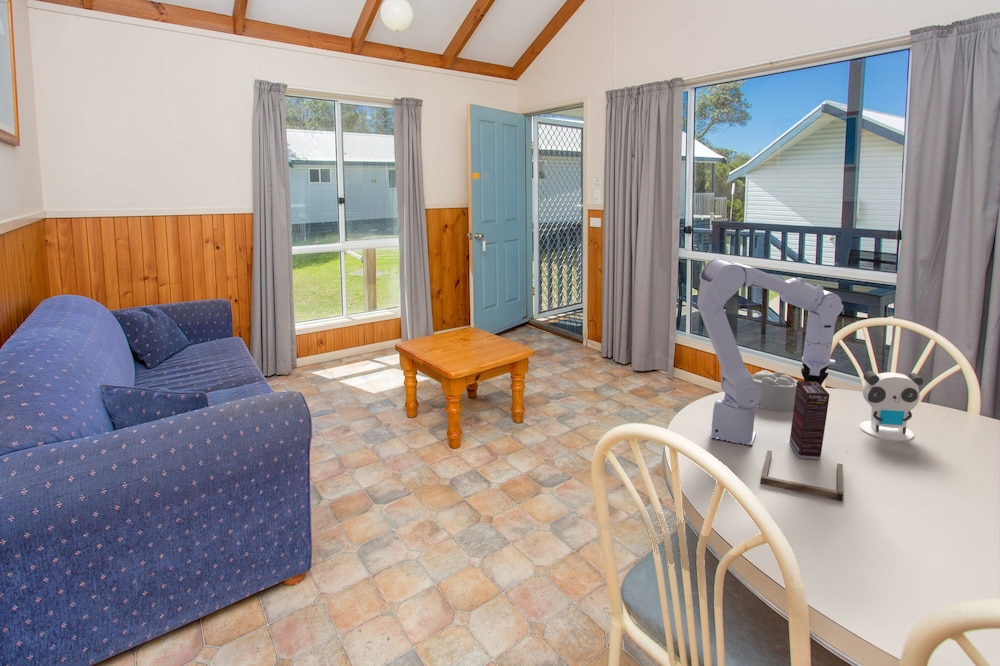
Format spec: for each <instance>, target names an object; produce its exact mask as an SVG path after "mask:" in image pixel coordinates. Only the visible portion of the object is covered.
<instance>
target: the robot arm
mask: <svg viewBox="0 0 1000 666" xmlns="http://www.w3.org/2000/svg"><path fill="white" fill-rule="evenodd" d="M751 285H754V286H756V287H757V286H758V287H760V288H763V289H766V290H769V291H772V292H775V293H777V294H778V295H779V297H780V300H781V301H782V302H784V303H787V304H788V305H789V304H790V305H792V306H795V307H797V308H800V309H802V310H805V311H808V314H807V322H806V329H805V331H806V332H805V337H804V338H805V339H804V345H803V346H804V347H803V353H802V354H803V355H802V357H801V362H802V366H803V367H802V368H800V373H801V375H802V377H803V381H814V382H818V383H819V384H820V385H821V386H823V383H824V382H825V381H826V379H827V377H828V376H829V372H826V371H827V370H828V369H829V367H830V365H831V366H832V365H836V360H835V359H831V355H832V347H833V339H834V334H835V325H836V323H837V319H838V317H839V315H840V314H841V312H843V310H844V305H843V304H842V303H843V302H842V298H840V296H839V295H838V294H837V293H834V292H831V291H828V290H825V289H824V286H821V285H819V284H818V285H816V286H815V285H813V284H811V283H807V282H806V279H804V278H802V277H799V276H798V277H797V278H796V277H793V278H792V277H791V278H788V279H786V280H784V279H781V278H779V277H778V276H777V277H776V276H774V275H772V274H769V273H767V272H765V271H762V270H760V269H757V268H755V267H754V266H753V267H752V266H749V265H746V264H743V263H739V262H734V261H725V259H723V258H722V259H721V258H713V259H711V260H709V261H707V262H706V263H705V265H704V267H703V268H702V270H701V272H700V273H699V288H698V295H697V302H696V305H697V308H698V311H699V313H700V315H701V318H702V320H703V324H704V326H705V329H706V332H707V334H708V337H709V339H710V340H709V341H710V342H711V345H712V347H713V349H714V352H715V355H716V358H717V360H718V363H719V365H720V367H721V369H720V371H719V374H720V376H721V381H720V388H721V390H722V391H723V393H724V396H723V399H719V398H717V399H715V401H714V405H713V410H712V421H711V431H710V432H711V434H710V438H711V437H712V438H717V437H718V439H722V440H721V441H723V440H727V441H726V442H728V441H732V442H731V443H733V442H736V443H735V444H739V443H742V444H741V445H744V444H747V445H746V446H749V445H752V446H753V444H754V441H755V438H756V435H757V431H755V430H754V426H755V417H756V408H757V407H756V405H757V404H758V403H759V402H760V401H761V399H762V389H761V388H760V386H759V385H757V384H756V383H755V382H754V380H753V377H752V376H751V375H752V373H750V371H749V370H748V368H747V366H746V364H745V362H744V361H743V357H742V355H741V351H740V349H739V346H738V344H737V340H736V339H735V336H734V333H733V331H732V328H731V327H732V326H731V325H730V322H729V320H728V317H727V315H726V312H725V309H724V306H725V305H726V303H727V301H729V300H730V299H731V298H732V297H733V296H734V295H735V294H736V293H737V292H739V290H740V289H741V288H748V287H750V286H751ZM755 434H756V435H755ZM712 438H711V439H712Z"/></svg>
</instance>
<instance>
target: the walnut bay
mask: <svg viewBox="0 0 1000 666" xmlns="http://www.w3.org/2000/svg"><path fill="white" fill-rule="evenodd" d="M772 455H773V451H772V450H768V449H767V451H766V455H765V458H764V463H763V467H762V471H761V475H760V482H759V484H760V485H763V484H764V485H765V486H768V487H771V488H772V487H773V488H777V489H782V490H786V491H787V490H788V491H792V492H796V493H801V494H807V495H811V496H814V497H815V496H816V497H819V498H820V497H821V498H826V499H830V500H835V501H839V502H843V499H844V465H843V463H838V462H837V463H836V464H837V465H836V490H834V489H830V488H825V487H822V486H821V487H820V486H816V485H812V484H811V485H810V484H806V483H801V482H796V481H792V480H791V481H790V480H786V479H781V478H777V477H771V476H768V474H769V471H770V470H769V469H770V466H771V461H772Z"/></svg>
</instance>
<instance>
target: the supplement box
mask: <svg viewBox="0 0 1000 666" xmlns="http://www.w3.org/2000/svg"><path fill="white" fill-rule="evenodd" d="M829 401H830V393H829V392H828V391H827V390H826V389H825V388H824V387H823V385H820V384H819V383H818V382H814V381H804V380H797V386H796V394H795V403H794V411H792V412H793V414H792V419H791V428H790V436H789V442H788V443H789V444H790V446H791V448H792V449H793V451H794V452H795V454H796V456H797V457H798V459H802V460H803V459H804V460H814V461H815V460H816V461H821V457H822V451H823V444H824V443H823V442H824V438H825V437H824V436H825V431H826V430H825V428H826V422H827V414H828V407H829Z"/></svg>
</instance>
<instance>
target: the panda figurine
mask: <svg viewBox="0 0 1000 666" xmlns="http://www.w3.org/2000/svg"><path fill="white" fill-rule="evenodd" d="M863 379H864V381H865V382H866V383H865V384H864V386H863V387H862V388H863V390H862V396H863V398H864V400H865V402H866V403H868V404H869V406H870V408H871V411H870V412H871V413H870V414H871V415H870V420H865V421H862V422H860V424H859V428H860V430H861V431H862V432H863V433H865V434H867V435H869V436H871V437H874V438H877V439H881V440H886V441H893V442H908V441H910V440H913V438H914V436H915V435H914V434H915V433H914V432H913V431H912V430H910V429H909V428H907V423H908V421H909V420H911V418H912V417H913V414H912V412H911V411H912V410H914V409H915V408H916V406H918V403H919V402H920V401H919V400H920V398H921V397H920V388H919V386H921V385H923V383H924V380H923V378H922V377H921V376H919V375H918V374H917V373H916V372H910V373H909V374H908V375H906V374H904V373H899V372H881V373H878V374H876V373H875V372H874V371H872V370H868V371H865V372H864V374H863Z"/></svg>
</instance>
